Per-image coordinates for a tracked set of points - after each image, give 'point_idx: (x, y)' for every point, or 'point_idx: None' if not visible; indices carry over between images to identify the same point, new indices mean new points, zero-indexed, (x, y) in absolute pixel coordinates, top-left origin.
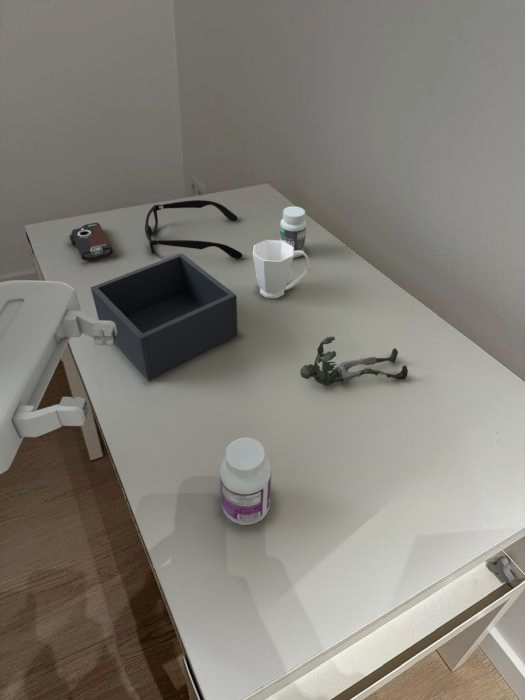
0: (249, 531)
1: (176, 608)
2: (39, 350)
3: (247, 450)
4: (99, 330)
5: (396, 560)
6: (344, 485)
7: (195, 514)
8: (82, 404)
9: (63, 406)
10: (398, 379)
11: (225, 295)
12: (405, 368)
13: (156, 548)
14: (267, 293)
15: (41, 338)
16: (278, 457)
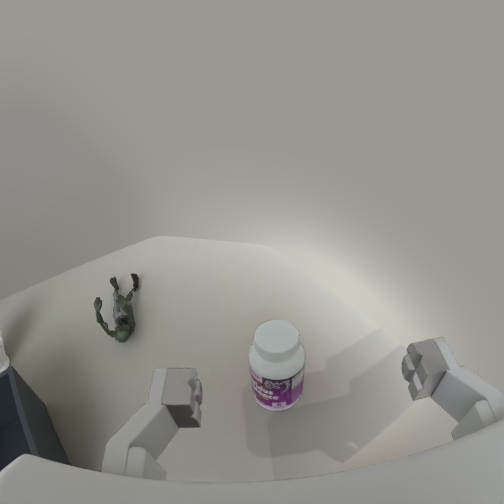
0: (305, 385)
1: (390, 422)
2: (326, 477)
3: (273, 332)
4: (189, 387)
5: (307, 294)
6: (247, 322)
7: (295, 434)
8: (422, 341)
9: (447, 359)
10: (137, 286)
11: (5, 379)
12: (134, 274)
13: (341, 459)
14: (1, 368)
15: (269, 494)
16: (217, 370)
